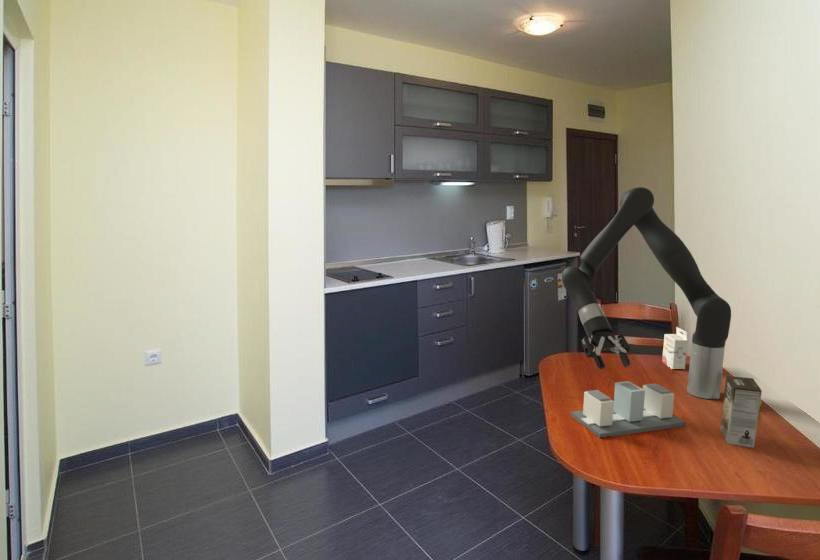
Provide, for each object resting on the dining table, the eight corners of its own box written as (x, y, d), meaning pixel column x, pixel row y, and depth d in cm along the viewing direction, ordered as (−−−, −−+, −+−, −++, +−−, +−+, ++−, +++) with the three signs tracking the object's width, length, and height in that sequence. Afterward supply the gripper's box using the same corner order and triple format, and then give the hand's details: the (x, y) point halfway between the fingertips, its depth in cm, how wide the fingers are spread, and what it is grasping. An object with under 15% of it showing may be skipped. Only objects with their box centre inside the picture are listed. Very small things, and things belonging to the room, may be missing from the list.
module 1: (594, 412, 143) (596, 388, 142) (612, 424, 135) (614, 399, 134) (582, 414, 142) (584, 389, 141) (599, 426, 134) (601, 400, 133)
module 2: (652, 405, 148) (654, 382, 146) (672, 417, 140) (674, 392, 139) (641, 406, 147) (643, 383, 146) (660, 418, 139) (662, 393, 138)
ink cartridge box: (660, 362, 191) (664, 326, 188) (673, 362, 191) (677, 326, 188) (672, 369, 182) (675, 332, 180) (685, 370, 182) (689, 332, 180)
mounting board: (650, 405, 151) (650, 400, 151) (685, 426, 138) (686, 420, 138) (570, 415, 145) (571, 410, 144) (599, 437, 131) (600, 432, 131)
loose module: (626, 409, 145) (628, 381, 143) (642, 419, 138) (645, 390, 137) (613, 411, 144) (615, 382, 142) (629, 421, 137) (631, 391, 136)
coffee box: (719, 428, 136) (725, 374, 134) (746, 432, 134) (752, 377, 131) (726, 444, 128) (733, 386, 125) (755, 448, 126) (763, 390, 123)
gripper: (579, 316, 150) (600, 363, 141) (619, 313, 153) (642, 359, 144) (569, 328, 156) (588, 374, 147) (607, 325, 159) (629, 370, 150)
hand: (615, 367), depth 145 cm, fingers open, 8 cm apart
